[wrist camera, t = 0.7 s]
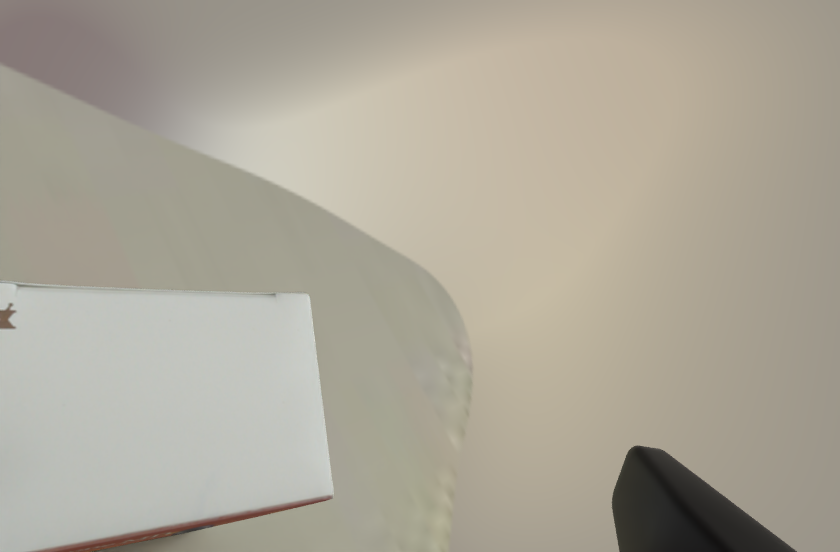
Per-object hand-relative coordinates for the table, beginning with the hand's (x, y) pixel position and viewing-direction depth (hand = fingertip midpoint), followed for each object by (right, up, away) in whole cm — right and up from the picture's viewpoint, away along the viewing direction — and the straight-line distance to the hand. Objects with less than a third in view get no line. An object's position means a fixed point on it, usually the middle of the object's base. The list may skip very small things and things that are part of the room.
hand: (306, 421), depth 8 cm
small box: (-10, -5, +13) cm, 17 cm away
